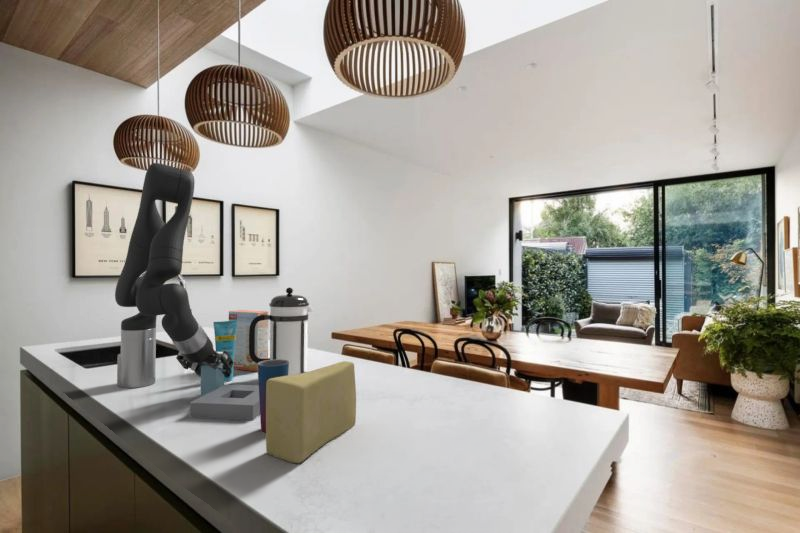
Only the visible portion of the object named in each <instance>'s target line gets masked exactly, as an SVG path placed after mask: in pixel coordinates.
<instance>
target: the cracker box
mask: <svg viewBox="0 0 800 533" xmlns="http://www.w3.org/2000/svg"><path fill="white" fill-rule="evenodd" d="M260 315H269V311H265V310H263V311H262V310H248V309H247V310H246V309H245V310H244V309H236V310H229V311H228V321H232V320H238V323H237V330H236V340H235V352H234V366H233V370H240V371H241V370H243V371H249V372H255V373H256V372H257V373H258V363H255V362H254V361H253V360H252V359H251V357H250V355H249V329H250V324H251V322H252V321H253V319H254V318H255V317H257V316H260ZM255 354H256V356H257V357H258V358H261V359H268V358H269V320H261V321H259V322H258V323H257V324H256V326H255Z"/></svg>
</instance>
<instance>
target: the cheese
mask: <svg viewBox="0 0 800 533" xmlns="http://www.w3.org/2000/svg"><path fill="white" fill-rule="evenodd" d="M355 373H356V372H355V363H354V362H353V361H345V360H344V361H339V362H335V363H333V364H330V365H327V366H324V367H319V368H317V369H314V370H309V371H306V372H305V373H301V374H295V375H288V376H281V377H276V378H271V379H268V380H267V383H266V433H265V445H266V446H265V447H266V449H265V450H266V453H267V454H269V455H270V456H273V457H276V458H279V459H281V460H285V461H287V462H290V463H294V464H300V463H302V462H304V461H306V459H307V458H308V457H309V458H310V457H311V455H312V454H314V453H315V452H316V451H317V450H319V449H320V448H321V447H323V446H324V445H325V444H327V443H328V442H329V441H331V440H333V439H335V438H337V437H338V436H340V435H343V433H345V432H347V431H348V430H349V429H351V428H353V427H354V426H355V425H356V422H357V421H356V420H357V419H356V417H357V388H356V377H355V376H356V375H355Z"/></svg>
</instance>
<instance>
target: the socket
mask: <svg viewBox="0 0 800 533" xmlns="http://www.w3.org/2000/svg"><path fill="white" fill-rule="evenodd" d="M258 416H260V401H259V385H250V384H249V385H247V384H246V385H245V384H243V385H241V384H224V385H222V386H221V387H219V388H217V389H215V390H213V391H211V392H209V393H207V394H205V395H203V396H201V395H200V397H198V398H196V399H194V400H192V401H191V402H189V418H201V419H202V418H203V419H223V420H225V419H226V420H230V419H231V420H244V421H245V420H246V421H247V420H248V421H249V420H250V421H254V420H255V419H256V418H257V417H258ZM253 419H254V420H253Z"/></svg>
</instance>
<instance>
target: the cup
mask: <svg viewBox="0 0 800 533" xmlns="http://www.w3.org/2000/svg"><path fill="white" fill-rule="evenodd" d="M288 370H289V361H287V360H281V359H274V360H265V361H261V362H259V363H258V371H257V376H258V377H257V379H258V386H259V401H260V415H259V416H260V431H261V433H262V434H266V383H267V380H268V379H271V378H276V377H281V376H288Z"/></svg>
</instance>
